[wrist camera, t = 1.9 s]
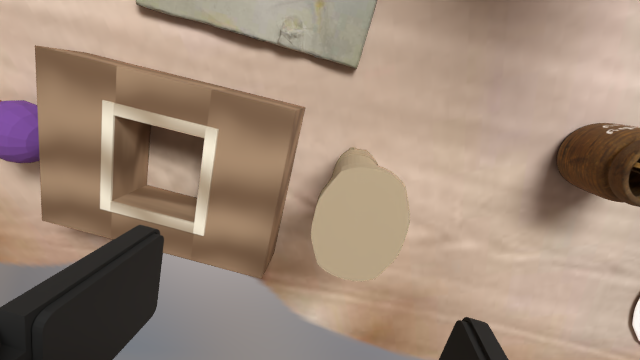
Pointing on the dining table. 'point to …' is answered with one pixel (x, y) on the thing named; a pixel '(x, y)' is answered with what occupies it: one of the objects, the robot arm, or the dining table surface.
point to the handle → (360, 218)
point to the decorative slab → (285, 22)
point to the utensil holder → (603, 161)
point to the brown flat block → (133, 151)
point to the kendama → (19, 132)
